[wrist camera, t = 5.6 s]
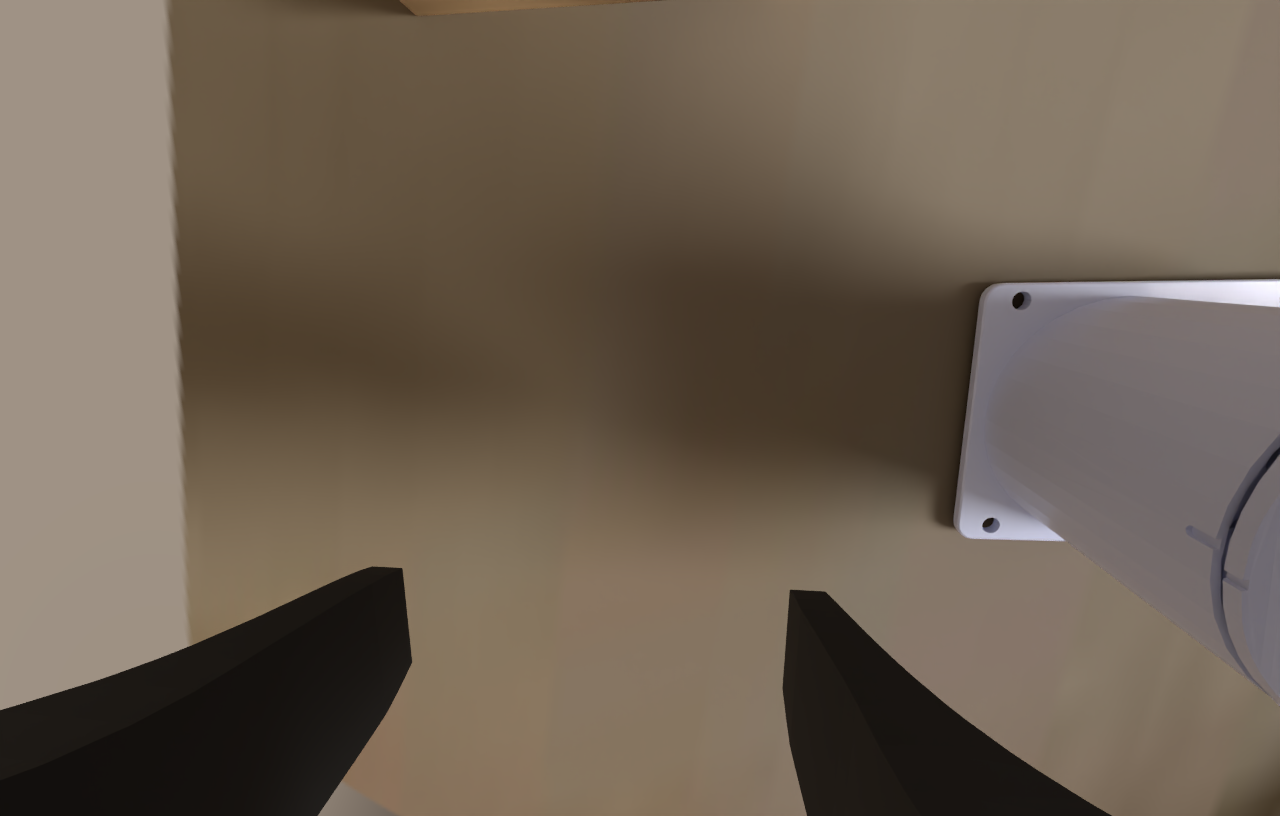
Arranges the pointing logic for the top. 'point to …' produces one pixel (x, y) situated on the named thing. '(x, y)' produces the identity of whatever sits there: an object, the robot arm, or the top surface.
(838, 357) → the top surface
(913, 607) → the top surface
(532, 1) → the oak bar
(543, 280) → the top surface
